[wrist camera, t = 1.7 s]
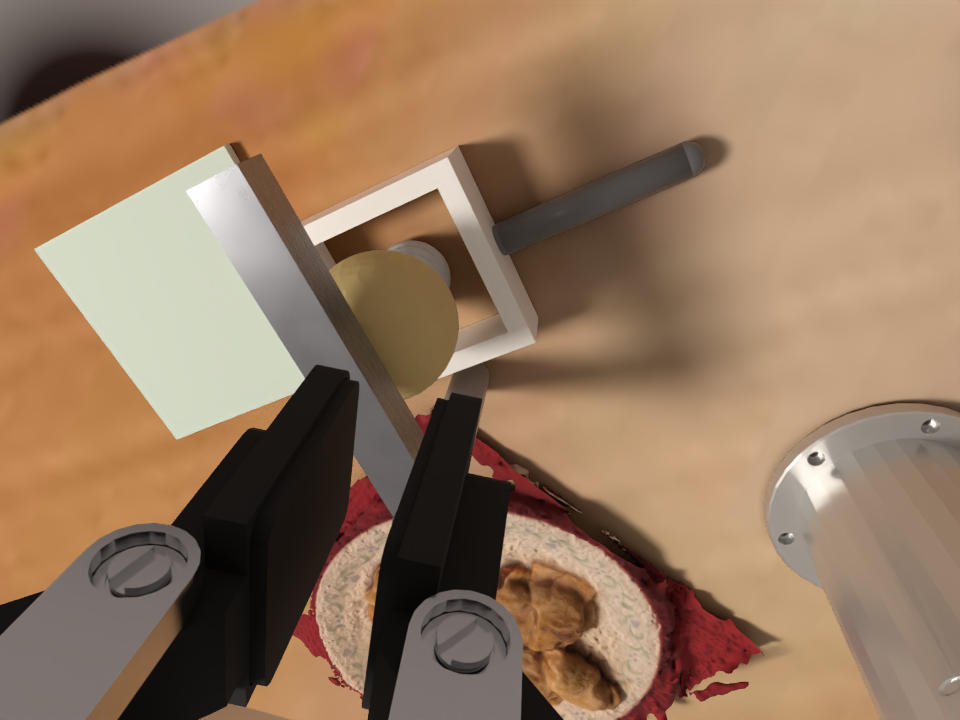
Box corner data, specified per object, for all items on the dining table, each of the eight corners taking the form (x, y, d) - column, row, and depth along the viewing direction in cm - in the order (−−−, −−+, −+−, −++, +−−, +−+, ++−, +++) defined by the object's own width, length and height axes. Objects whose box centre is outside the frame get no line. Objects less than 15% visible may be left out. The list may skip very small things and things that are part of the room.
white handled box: (667, 44, 29) (711, 57, 20) (749, 293, 33) (817, 400, 24) (293, 224, 35) (189, 301, 25) (405, 416, 39) (352, 542, 30)
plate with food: (433, 389, 39) (419, 422, 36) (760, 635, 43) (773, 683, 40) (239, 605, 50) (215, 645, 47) (518, 785, 54) (513, 832, 51)
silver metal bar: (270, 148, 22) (246, 158, 20) (481, 515, 28) (475, 546, 26) (203, 183, 23) (176, 196, 21) (421, 533, 29) (412, 564, 27)
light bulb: (350, 312, 36) (277, 407, 28) (364, 197, 33) (288, 262, 25) (465, 340, 36) (430, 445, 27) (490, 227, 33) (459, 303, 25)
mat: (229, 143, 33) (223, 145, 33) (360, 363, 38) (357, 368, 37) (41, 245, 37) (33, 249, 36) (181, 434, 42) (176, 439, 41)
